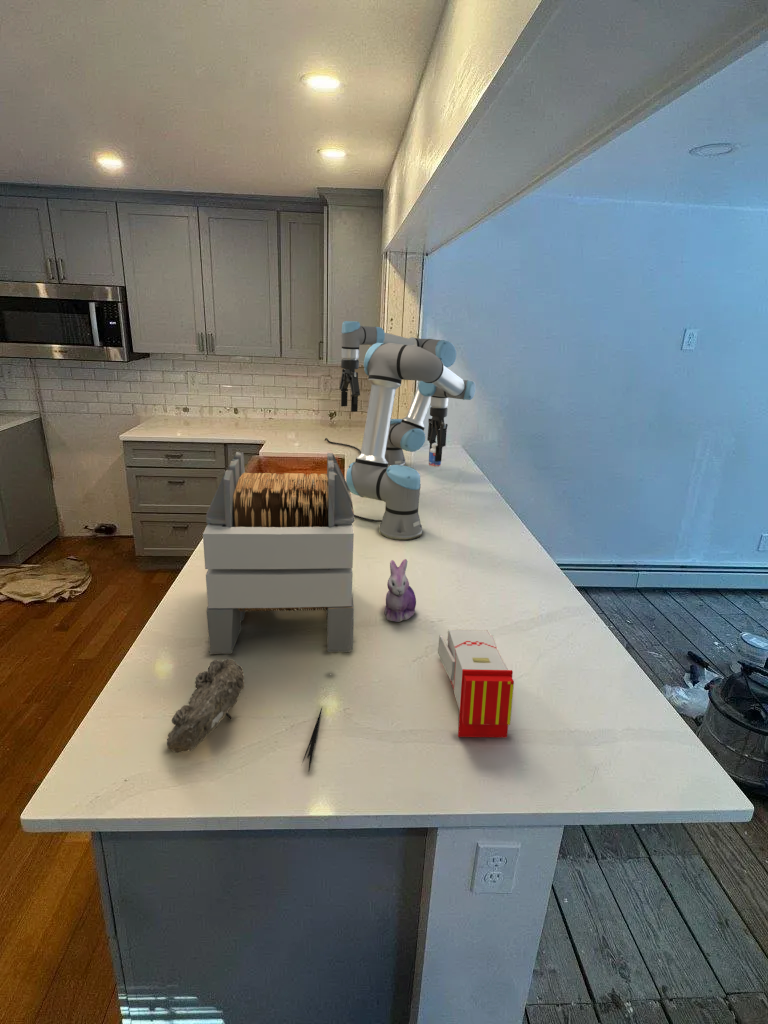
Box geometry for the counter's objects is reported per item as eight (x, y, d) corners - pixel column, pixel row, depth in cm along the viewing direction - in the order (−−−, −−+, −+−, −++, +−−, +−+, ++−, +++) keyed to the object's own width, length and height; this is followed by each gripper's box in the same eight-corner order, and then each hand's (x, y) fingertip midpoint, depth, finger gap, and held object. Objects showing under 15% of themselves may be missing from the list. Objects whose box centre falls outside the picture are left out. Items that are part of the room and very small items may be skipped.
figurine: (392, 627, 141) (395, 572, 136) (374, 608, 149) (376, 556, 144) (425, 619, 145) (429, 566, 140) (405, 601, 154) (408, 550, 149)
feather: (331, 679, 122) (336, 673, 122) (307, 777, 96) (313, 769, 95) (324, 675, 122) (329, 669, 121) (298, 772, 95) (304, 764, 95)
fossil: (192, 660, 117) (244, 628, 112) (224, 691, 120) (276, 661, 115) (142, 746, 98) (202, 712, 93) (182, 779, 101) (242, 748, 96)
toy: (488, 613, 130) (523, 677, 101) (484, 667, 133) (517, 744, 104) (435, 612, 130) (455, 676, 101) (432, 666, 133) (451, 743, 103)
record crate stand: (229, 585, 158) (221, 442, 144) (346, 584, 161) (350, 444, 148) (206, 656, 126) (193, 481, 112) (353, 652, 130) (358, 483, 116)
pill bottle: (431, 467, 249) (433, 445, 245) (426, 464, 253) (427, 443, 250) (442, 466, 251) (444, 445, 247) (437, 463, 255) (438, 442, 252)
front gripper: (457, 410, 237) (452, 464, 244) (436, 403, 253) (433, 454, 260) (441, 410, 234) (436, 465, 242) (421, 403, 250) (418, 454, 258)
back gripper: (368, 362, 233) (367, 413, 240) (348, 356, 255) (347, 404, 262) (351, 362, 230) (350, 414, 237) (332, 356, 252) (332, 404, 259)
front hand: (434, 459), depth 251 cm, fingers closed on pill bottle, 5 cm apart
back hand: (349, 408), depth 250 cm, fingers open, 13 cm apart
